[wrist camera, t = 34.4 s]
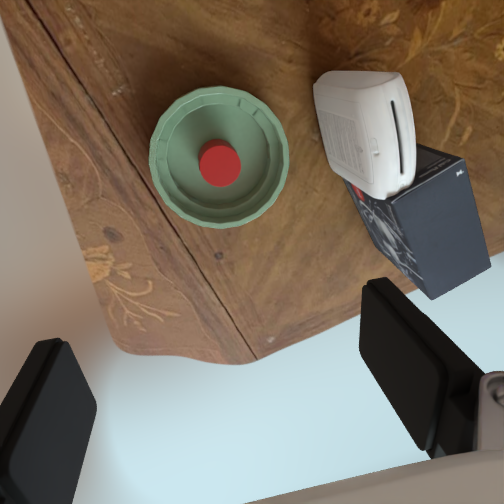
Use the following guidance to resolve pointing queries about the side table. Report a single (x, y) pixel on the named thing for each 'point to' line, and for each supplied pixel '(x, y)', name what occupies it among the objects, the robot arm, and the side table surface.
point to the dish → (239, 136)
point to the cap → (219, 163)
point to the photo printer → (367, 129)
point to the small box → (429, 224)
